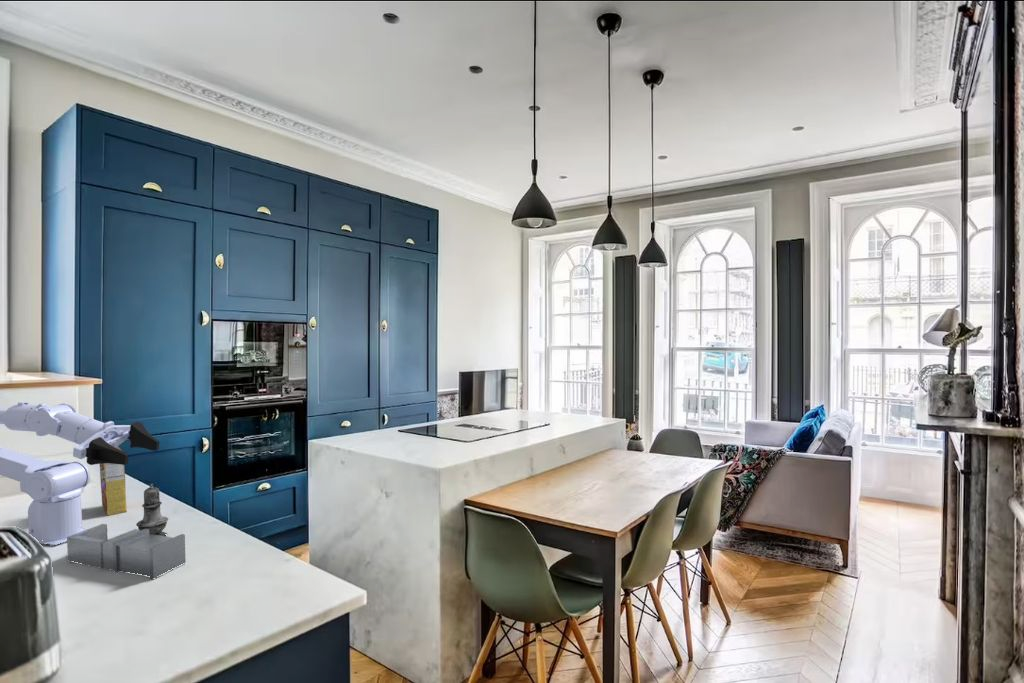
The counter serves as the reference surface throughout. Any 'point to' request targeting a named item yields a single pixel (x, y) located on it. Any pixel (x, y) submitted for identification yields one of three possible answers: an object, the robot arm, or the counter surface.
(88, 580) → the counter surface
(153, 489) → the grey tapered rounded piece
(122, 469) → the candy box
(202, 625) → the counter surface
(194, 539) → the counter surface
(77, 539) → the grey divided tray
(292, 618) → the counter surface
